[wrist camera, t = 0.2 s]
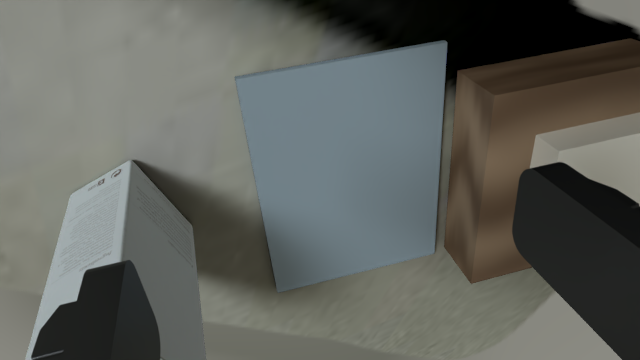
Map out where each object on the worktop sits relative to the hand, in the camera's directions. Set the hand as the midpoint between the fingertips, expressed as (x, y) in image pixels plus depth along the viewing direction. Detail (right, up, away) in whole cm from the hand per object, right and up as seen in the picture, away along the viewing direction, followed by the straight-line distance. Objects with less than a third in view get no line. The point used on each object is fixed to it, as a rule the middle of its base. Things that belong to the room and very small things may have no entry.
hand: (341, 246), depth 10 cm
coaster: (+16, +1, +20) cm, 26 cm away
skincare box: (-11, 0, +18) cm, 21 cm away
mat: (+2, +1, +21) cm, 21 cm away
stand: (+14, +3, +23) cm, 28 cm away
